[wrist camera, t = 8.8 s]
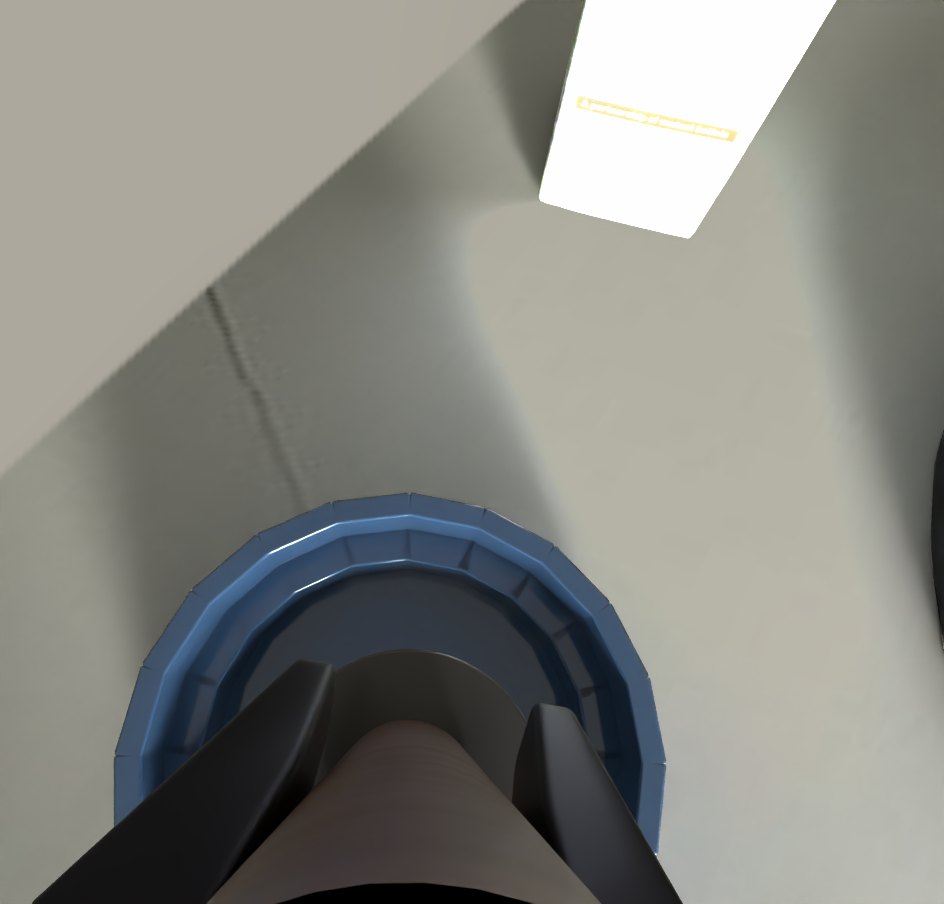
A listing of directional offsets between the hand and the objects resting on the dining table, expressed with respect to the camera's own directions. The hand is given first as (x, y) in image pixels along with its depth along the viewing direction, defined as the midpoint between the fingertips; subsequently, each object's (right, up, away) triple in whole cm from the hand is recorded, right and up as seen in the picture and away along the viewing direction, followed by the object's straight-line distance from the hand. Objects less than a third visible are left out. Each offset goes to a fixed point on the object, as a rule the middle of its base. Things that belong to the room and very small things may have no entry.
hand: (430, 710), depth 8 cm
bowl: (-2, -5, +12) cm, 14 cm away
